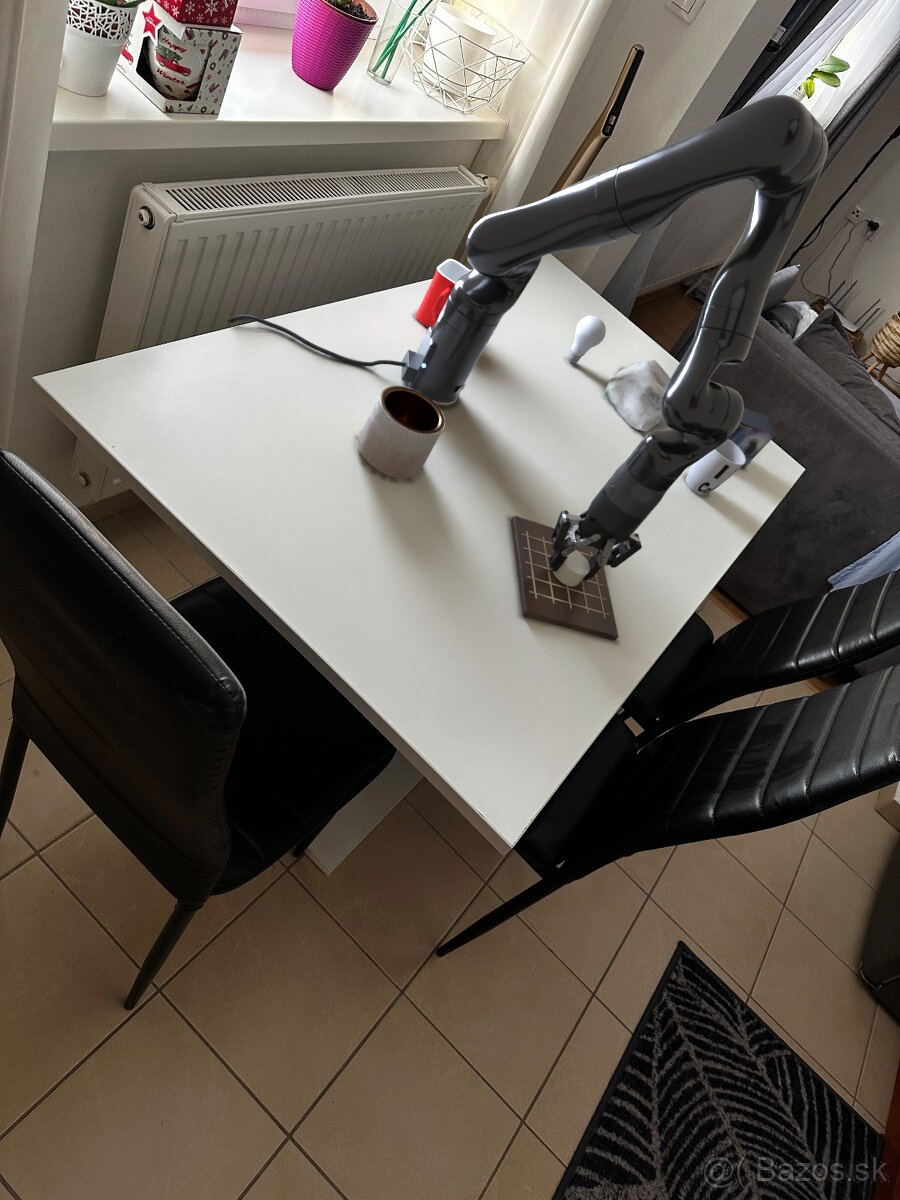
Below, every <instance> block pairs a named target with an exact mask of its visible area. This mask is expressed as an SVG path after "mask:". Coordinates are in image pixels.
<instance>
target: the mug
mask: <svg viewBox="0 0 900 1200" xmlns="http://www.w3.org/2000/svg"><path fill="white" fill-rule="evenodd" d="M470 271H471V269H469V268H468V267H466V266H465V265H463V264H462V263H461V262H459V261H457V260H455V259H452V258H448V259H446V260H445V261H443V262H442V263H440V264H439V265H438V266H437V267H436V271H435V274H434V276H433V278H432V280H431V282H430V284H429V286H428V288H427V290H426V292H425V295H424V297H423V299H422V300H421V303H420V305H419V307H418V309H417V311H416V314H415V319H416V320H417V321H418V322H419V323H421V325H424V326H425V327H426V328H427V329H429V327H434V325H435V323H436V321H437V319H438V317H439V315H440V313H441V311H442V309H443V307H444V305H445V303H446V301H447V299H448V297H449V295H450V293H451V291H452V289H453V287H454V285H455V283H456V282H457V280H458V279H459V278H460V277H462V276H463V275H465V274H467V273H468V272H470Z"/></svg>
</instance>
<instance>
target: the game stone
mask: <svg viewBox="0 0 900 1200" xmlns="http://www.w3.org/2000/svg"><path fill="white" fill-rule="evenodd" d="M567 557H568V558H567V559H566V560H565V561H564V563H563V564H562V565H561V566H560V568H559V569H558V570H557V571H556V572H555V571H553V573H554V575H555V577H556V578H557V579H558V580H559V581H560V582H562V583H563V584H565V585H567V586H577V585H578V584H579V583H580V582H581V581H582V580H583V579H584V577H585V576H586V575H587V574H588V573H589V571H590V565H589V562H588V561H587V559H586V558H585V557H584V556H583V555H582V554H581V553H579V552H577V551H574V552H572V553H571V554H569V555H568V556H567Z"/></svg>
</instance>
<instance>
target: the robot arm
mask: <svg viewBox="0 0 900 1200" xmlns="http://www.w3.org/2000/svg"><path fill="white" fill-rule="evenodd" d="M828 151H829V142H828V137H827V133H826V132H825V130H824V127H823V126H822V125H821V124H820V122H819V121H818V120H817V118H816V117H815V116H814V115H813V114H812V113H811V112H810V110H808V108H807V107H806V106H805V104H803V102H801V101H799V99H797V98H795V97H793V96H791V95H788V94H787V95H786V94H774V95H770V96H767V97H764V98H761V99H758V100H756V101H754V102H751V103H750V104H748V105H746V106H744V107H742V108H740V109H738V110H736V111H734V112H732V113H731V114H729V115H727V116H725V117H723V118H721V119H720V120H718V121H715V122H714V123H712V124H710V125H708V126H707V127H705V128H703V129H701V130H699V131H697V132H695V133H692V134H691V135H688V136H685V137H683V138H682V139H679V140H677V141H674V142H672V143H669V144H667V145H664V146H662V147H659V148H657V149H655V150H653V151H650V152H648V153H645V154H643V155H641V156H638V157H635V158H631V159H628V160H626V161H623V162H621V163H618V164H616V165H613V166H611V167H608V168H606V169H603V170H602V171H599V172H597V173H595V174H592V175H591V176H589V177H586V178H584V179H582V180H580V181H577V182H575V183H573V184H571V185H569V186H566V187H563V188H562V189H560V190H558V191H556V192H554V193H552V194H550V195H548V196H546V197H544V198H542V199H540V200H537V201H534V202H532V203H528V204H524V205H521V206H518V207H514V208H510V209H506V210H501V211H498V212H497V211H496V212H492V213H489V214H486V215H484V216H483V217H481V218H480V219H478V221H476V223H475V224H474V225H473V226H472V228H471V229H470V231H469V233H468V235H467V238H466V241H465V255H466V259H467V261H468V263H469V264H470V266H471V267H472V269H470V272H468V273H467V274H465V275H463V276H462V277H460V278H459V279H458V280H457V282H456V283H455V285H454V287H453V289H452V291H451V293H450V295H449V297H448V299H447V301H446V303H445V305H444V307H443V309H442V311H441V313H440V315H439V317H438V319H437V321H436V323H435V325H434V327H429V328H427V331H426V333H425V335H424V337H423V339H422V341H421V343H420V345H419V347H418V349H417V351H416V352H415V351H413V350H411V349H407V350H406V352H405V355H404V357H403V359H402V360H401V361H399V360H398V361H397V360H390V359H378V360H374V361H361V360H357V359H352V358H348V357H346V356H344V355H340V354H338V353H336V352H333V351H330V350H328V349H326V348H324V347H321V346H319V345H317V344H315V343H313V342H311V341H309V340H307V339H306V338H304V337H302V336H301V335H299V334H297V333H295V332H294V331H292V330H290V329H288V328H286V327H284V326H282V325H278V324H276V323H274V322H271V321H268V320H266V319H263V318H261V317H258V316H254V315H251V314H241V315H240V314H239V315H235V316H232V317H230V318H228V319H227V320H226V321H227V322H228V323H230V324H231V323H235V322H239V321H253V322H257V323H259V324H261V325H264V326H266V327H270V328H272V329H275V330H277V331H280V332H283V333H284V334H287V335H289V336H290V337H292V338H294V339H296V340H297V341H299V342H301V343H302V344H304V345H306V346H308V347H309V348H311V349H313V350H316V351H317V352H320V353H323V354H325V355H327V356H330V357H332V358H334V359H337V360H339V361H342V362H345V363H348V364H351V365H355V366H360V367H361V366H362V367H375V366H379V365H390V366H398V367H401V381H404V382H407V387H409V388H412V389H415V390H417V391H419V392H421V393H423V394H424V395H426V396H428V397H429V398H430V399H431V400H433V401H434V402H435V403H436V404H437V405H438V407H450V406H452V405H454V404H455V403H456V401H457V400H458V398H459V396H460V393H461V391H463V390H464V389H465V387H466V385H467V383H466V382H467V380H468V379H469V377H470V375H471V373H472V372H473V370H474V368H475V367H476V365H477V364H478V361H479V359H480V357H481V356H482V355H483V353H484V350H485V349H486V347H487V345H488V343H489V342H490V340H491V338H492V336H493V335H494V332H495V331H496V329H497V328H498V326H499V324H500V322H501V320H502V319H503V317H504V315H506V314H507V313H508V312H509V311H510V310H511V309H512V308H513V307H514V306H515V304H516V303H517V302H518V300H519V299H520V297H521V296H522V294H523V293H524V291H525V289H526V288H527V286H528V284H529V283H530V281H531V280H532V278H533V276H534V275H535V273H536V271H537V270H538V267H539V266H540V263H541V261H542V259H543V257H544V256H549V255H551V254H556V253H560V252H567V251H568V252H569V251H575V250H582V249H587V248H592V247H598V246H604V245H607V244H611V243H615V242H619V241H622V240H625V239H629V238H631V237H635V236H637V235H641V234H642V233H645V232H647V231H650V230H652V229H655V228H656V227H658V226H660V225H661V224H662V223H664V222H665V221H666V220H667V219H668V218H670V216H672V215H673V214H674V213H675V212H676V211H677V210H678V209H679V208H680V207H681V206H682V205H683V204H684V203H685V202H686V201H687V200H688V199H690V198H691V197H693V196H695V195H697V194H699V193H700V192H703V191H705V190H707V189H711V188H714V187H717V186H721V185H723V184H727V183H730V182H734V181H738V180H748V181H749V182H750V183H751V184H753V186H754V190H753V196H752V203H751V208H750V212H749V215H748V219H747V223H746V225H745V227H744V229H743V232H742V234H741V236H740V238H739V240H738V242H737V243H736V245H735V246H734V248H733V250H732V251H731V252H730V254H729V255H728V257H727V258H726V260H725V261H724V262H723V264H722V265H721V267H720V268H719V270H718V272H717V273H716V274H715V276H714V278H713V280H712V282H711V284H710V286H709V289H708V290H707V293H706V296H705V299H704V302H703V306H702V309H701V312H700V316H699V319H698V323H697V326H696V329H695V332H694V335H693V339H692V340H691V343H690V344H689V346H688V347H687V349H686V351H685V352H684V355H683V356H682V358H681V360H680V362H679V363H678V365H677V367H676V368H675V370H674V372H673V373H672V375H671V376H670V380H669V382H668V383H667V385H666V387H665V389H664V392H663V395H662V398H661V415H662V419H663V420H662V421H663V422H664V423H663V424H665V425H666V426H667V427H668V428H670V429H655V430H652V431H650V432H649V433H647V434H646V435H645V436H644V437H643V439H642V440H641V441H640V442H639V443H638V445H637V446H636V447H635V449H634V450H633V451H632V452H631V453H630V455H629V456H628V457H627V459H626V460H625V461H624V462H623V463H621V465H620V466H618V468H617V469H616V470H615V471H614V472H613V473H612V475H611V476H610V477H609V479H608V480H607V481H606V483H605V484H604V485H603V487H602V488H601V489H600V490H599V492H598V493H597V494H596V496H595V497H594V498H593V499H592V500H591V502H590V504H589V506H588V508H587V509H586V510H585V511H584V512H581V513H580V514H579V515H575V514H574V515H573V514H570V513H569V511H568V510H566V509H565V510H562V511H560V513H559V516H558V517H557V518H558V519H557V520H556V523H555V526H554V527H553V528H554V530H553V533H552V535H551V539H552V543H553V549H554V550H555V551H554V553H553V554H552V555H551V556H550V558H549V563H550V567H551V571H555V572H556V571H557V570H558V569H559V568H560V566H561V565H562V564H563V563H564V561H565V560H566V559H567V558H568V557H567V556H568V555H569V554H571V553H572V552H574V551H575V550H578V551H579V550H581V549H583V548H584V547H586V546H592V547H595V548H596V549H597V551H596V556H592V557H591V558H590V560H589V561H588V562H589V565H590V571H589V573H588V574H587V575H586V576H585V577H584V579H583V580H585V581H587V580H588V579H589V578H590V579H591V578H592V577H594V576H595V574H596V573H597V572H598V571H599V570H600V569H601V568H602V567H604V568H605V567H606V566H609V567H610V568H611V569H616V568H618V567H619V566H621V564H623V563H625V562H626V561H627V560H628V559H629V558H631V557H633V556H634V555H635V554H636V553H638V552H639V551H640V550H641V549H642V548H643V546H642V542H641V538H640V535H639V533H636V531H637V529H639V527H640V526H641V524H643V522H644V521H646V519H647V518H648V516H650V515H651V514H652V512H653V511H654V510H655V509H656V507H657V506H659V504H660V503H661V501H662V499H663V498H664V497H665V495H666V493H667V492H668V490H669V489H670V488H671V487H672V486H673V484H675V482H676V481H677V480H678V478H679V477H680V476H681V475H682V474H683V473H684V472H685V470H687V469H688V468H690V467H691V466H692V464H694V463H696V462H697V461H699V460H700V459H702V458H703V457H704V456H706V455H707V454H709V453H710V452H711V451H713V450H714V449H716V448H717V447H719V446H720V445H721V444H722V443H724V442H725V441H726V440H727V439H728V438H729V437H730V436H731V435H732V434H733V433H734V432H735V430H736V429H737V427H738V425H739V424H740V421H741V419H742V416H743V411H744V408H745V404H744V399H743V397H742V395H741V393H740V392H739V391H737V390H736V389H735V388H733V387H730V386H728V385H724V384H721V383H719V382H715V381H712V380H711V378H712V376H713V375H714V373H715V372H716V370H717V369H718V368H719V367H720V366H721V365H722V366H736V365H741V364H742V363H743V362H744V361H745V360H746V358H747V356H748V354H749V351H750V349H751V346H752V343H753V341H754V340H753V339H754V338H755V333H756V330H757V327H758V323H759V320H760V318H761V313H762V310H763V307H764V305H765V301H766V297H767V296H768V293H769V289H770V287H771V284H772V281H773V278H774V276H775V274H776V270H777V269H778V266H779V263H780V261H781V259H782V256H783V254H784V252H785V250H786V248H787V245H788V243H789V241H790V239H791V236H792V234H793V232H794V230H795V229H796V228H795V227H796V225H797V223H798V221H799V219H800V217H801V215H802V214H803V213H802V212H803V211H804V209H805V206H806V205H807V202H808V201H809V199H810V197H811V194H812V192H813V190H814V188H815V186H816V184H817V181H818V180H819V177H820V175H821V173H822V172H823V171H822V170H823V168H824V165H825V162H826V159H827V156H828ZM575 526H576V527H575ZM567 533H570V534H569V535H568V536H566V535H567ZM579 536H580V539H581V540H580V539H579ZM570 543H571V544H570ZM569 544H570V545H569Z"/></svg>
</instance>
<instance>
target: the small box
mask: <svg viewBox="0 0 900 1200" xmlns="http://www.w3.org/2000/svg"><path fill="white" fill-rule="evenodd" d="M776 436H777V434H776V431H775V429H774V427H773V426H772V423H771V422H770V419H769V417H768V416H767V415H765V414H762V413H760V412H758V411H754V410H751V409H749V408H746V407H744V411H743V416H742V419H741V421H740V424H739V425H738V427H737V429H736V430H735V432H734V433H733V434H732V435H731V436H730V437H729V438H728V439H729V440H731V441H732V442H733V443H735V444H736V445H737V446H738V447H739V448H740V449H741V451H742V452H743V454H744V455H745V458H746V462H745V463H744V464H743V465H742V466H741V467H740V468H739V469H743V470H744V469H745V468H746V467H747V466H748V465H749V464H750V463H751V461H753V460H754V458H756V456H757V455H758V454H759V453H760V452H761V451H762V450H763V449H764V448H765V447H766V446H767V445H768V444H769V443H770V442H771V441H772V440H773V438H775V437H776Z"/></svg>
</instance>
